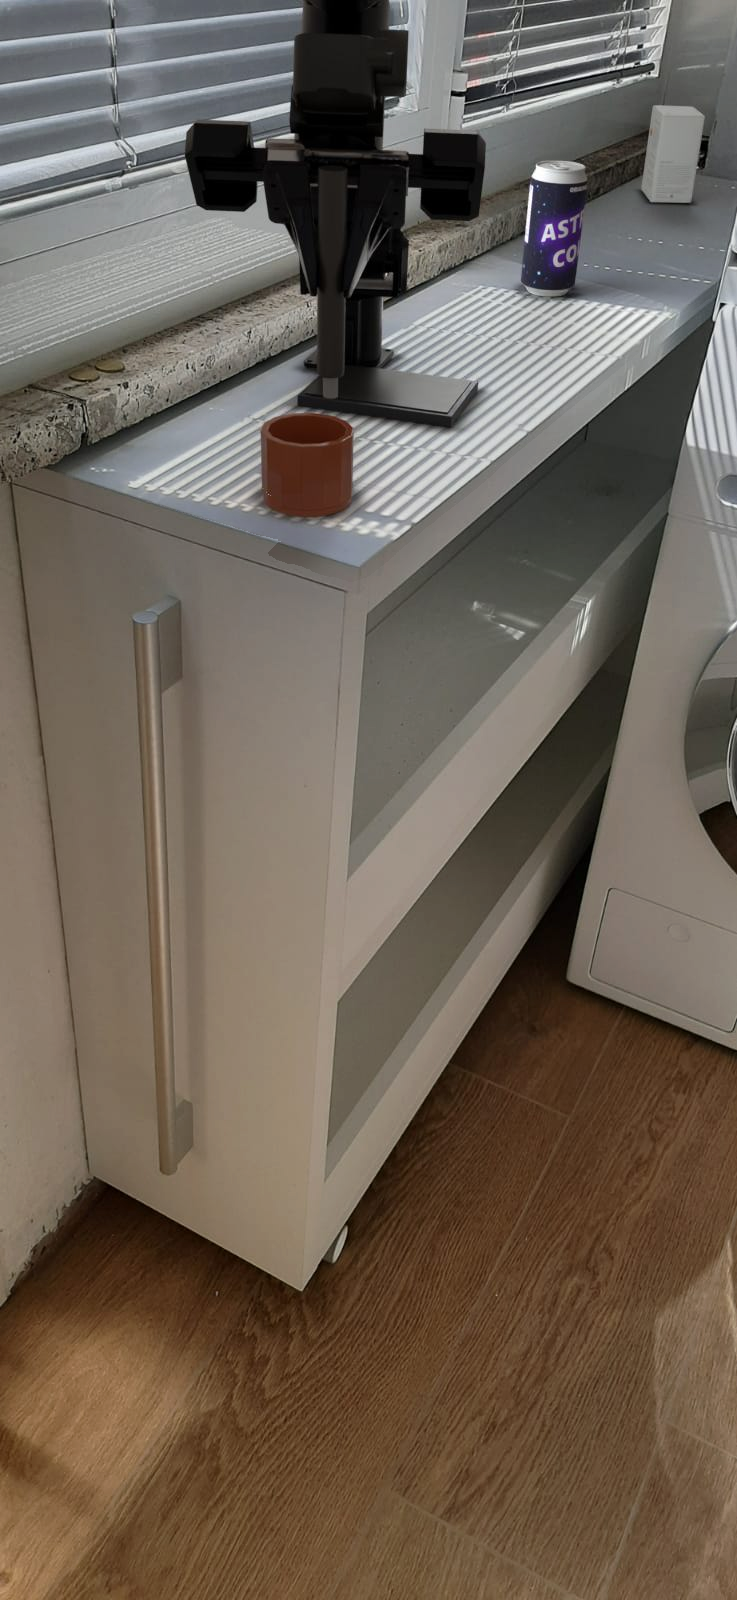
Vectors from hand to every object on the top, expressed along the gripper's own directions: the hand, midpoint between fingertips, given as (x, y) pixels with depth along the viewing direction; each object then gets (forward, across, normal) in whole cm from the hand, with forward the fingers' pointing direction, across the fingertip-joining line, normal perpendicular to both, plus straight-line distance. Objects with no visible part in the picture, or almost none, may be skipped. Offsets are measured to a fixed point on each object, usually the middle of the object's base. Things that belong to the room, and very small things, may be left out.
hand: (329, 293), depth 79 cm
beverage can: (-30, +19, +50) cm, 61 cm away
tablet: (-5, +4, +25) cm, 26 cm away
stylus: (+4, 0, +6) cm, 7 cm away
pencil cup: (+10, -2, +10) cm, 14 cm away
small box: (-64, +39, +84) cm, 113 cm away
